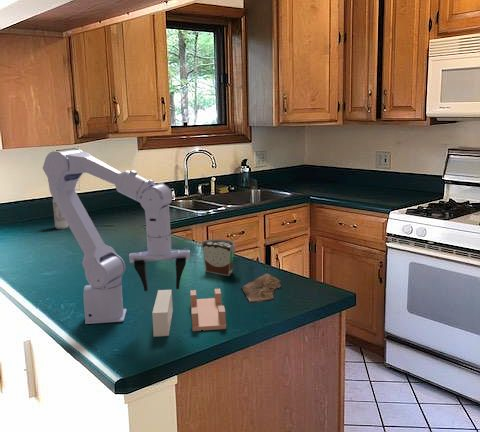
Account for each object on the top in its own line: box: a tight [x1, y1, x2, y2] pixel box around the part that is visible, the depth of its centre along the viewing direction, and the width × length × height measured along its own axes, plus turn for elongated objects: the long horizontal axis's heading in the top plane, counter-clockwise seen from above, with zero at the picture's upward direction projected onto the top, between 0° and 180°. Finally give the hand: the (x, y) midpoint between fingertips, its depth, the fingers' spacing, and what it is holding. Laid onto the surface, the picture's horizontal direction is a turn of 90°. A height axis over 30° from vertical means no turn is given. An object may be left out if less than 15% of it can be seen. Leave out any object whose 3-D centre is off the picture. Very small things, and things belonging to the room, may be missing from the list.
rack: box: [189, 288, 227, 332], centre depth 135 cm, size 8×19×4 cm, turn 6°
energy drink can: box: [52, 198, 69, 230], centre depth 244 cm, size 6×6×15 cm
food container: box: [200, 238, 236, 277], centre depth 172 cm, size 12×6×10 cm, turn 56°
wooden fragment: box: [241, 273, 282, 304], centre depth 156 cm, size 26×11×1 cm, turn 165°
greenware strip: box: [151, 289, 174, 338], centre depth 131 cm, size 4×16×6 cm, turn 4°
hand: (161, 288), depth 130 cm, fingers open, 7 cm apart
